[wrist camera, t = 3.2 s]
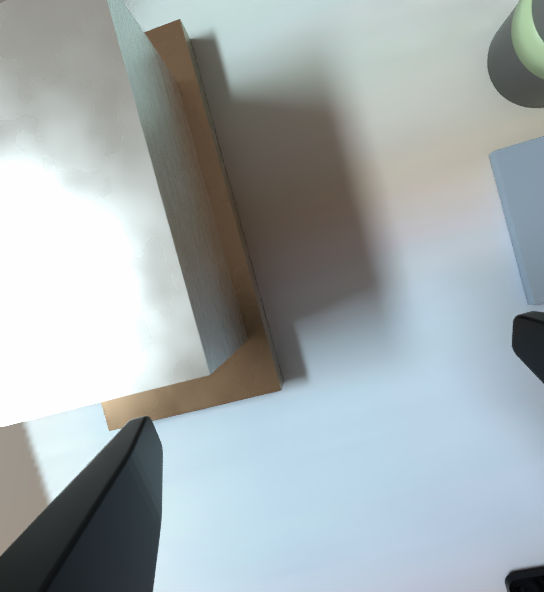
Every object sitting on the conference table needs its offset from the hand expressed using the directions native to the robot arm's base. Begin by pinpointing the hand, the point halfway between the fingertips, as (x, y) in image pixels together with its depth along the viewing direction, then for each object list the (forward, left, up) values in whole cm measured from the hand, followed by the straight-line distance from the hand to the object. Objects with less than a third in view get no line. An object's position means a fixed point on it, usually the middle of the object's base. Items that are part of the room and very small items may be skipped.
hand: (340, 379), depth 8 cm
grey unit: (+7, +8, -11) cm, 16 cm away
